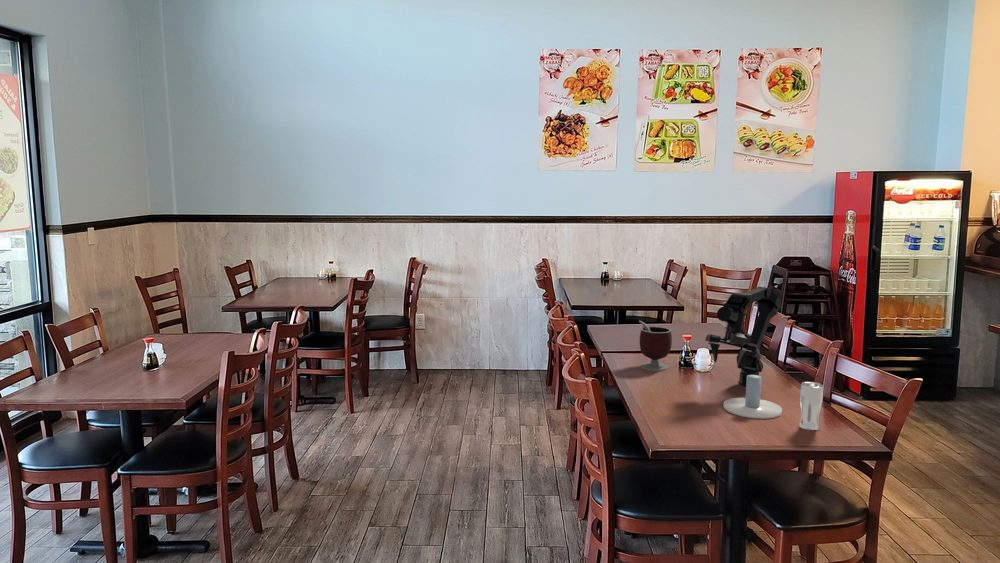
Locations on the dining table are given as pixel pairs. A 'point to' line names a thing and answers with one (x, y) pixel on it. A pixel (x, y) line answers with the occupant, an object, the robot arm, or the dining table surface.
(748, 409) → the plate
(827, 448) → the dining table surface
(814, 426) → the beer glass
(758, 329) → the robot arm
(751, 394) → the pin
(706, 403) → the dining table surface
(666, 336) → the mate gourd
